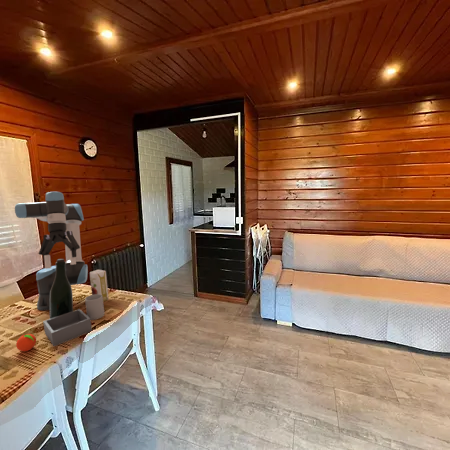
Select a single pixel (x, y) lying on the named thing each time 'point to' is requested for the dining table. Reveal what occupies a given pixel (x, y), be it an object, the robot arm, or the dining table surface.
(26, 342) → the tomato
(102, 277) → the juice carton
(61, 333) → the bin
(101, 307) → the mug
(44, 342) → the dining table surface
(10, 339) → the dining table surface
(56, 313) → the wine bottle
